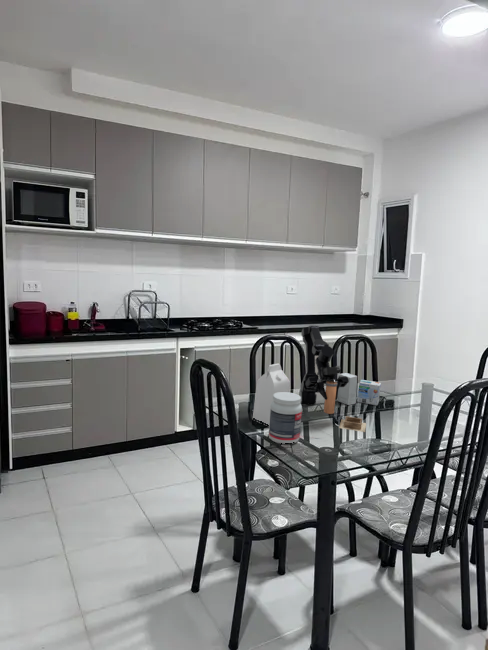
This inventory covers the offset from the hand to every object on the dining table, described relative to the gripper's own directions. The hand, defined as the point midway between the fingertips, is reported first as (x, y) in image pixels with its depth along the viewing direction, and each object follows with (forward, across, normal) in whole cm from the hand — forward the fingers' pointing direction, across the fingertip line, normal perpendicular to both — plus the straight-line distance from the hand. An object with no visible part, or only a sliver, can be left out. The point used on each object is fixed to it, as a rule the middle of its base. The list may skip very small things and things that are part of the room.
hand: (331, 399), depth 200 cm
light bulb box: (-13, +36, +32) cm, 50 cm away
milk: (+2, -23, +18) cm, 29 cm away
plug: (+4, 0, +6) cm, 7 cm away
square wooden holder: (+11, +11, +8) cm, 17 cm away
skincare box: (-13, +24, +33) cm, 43 cm away
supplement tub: (+16, -24, +3) cm, 29 cm away
